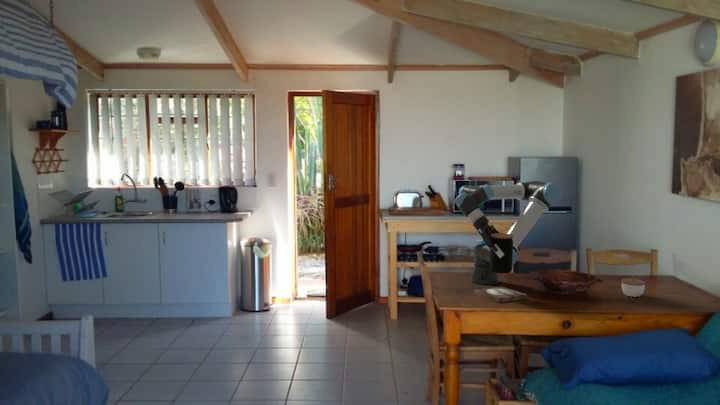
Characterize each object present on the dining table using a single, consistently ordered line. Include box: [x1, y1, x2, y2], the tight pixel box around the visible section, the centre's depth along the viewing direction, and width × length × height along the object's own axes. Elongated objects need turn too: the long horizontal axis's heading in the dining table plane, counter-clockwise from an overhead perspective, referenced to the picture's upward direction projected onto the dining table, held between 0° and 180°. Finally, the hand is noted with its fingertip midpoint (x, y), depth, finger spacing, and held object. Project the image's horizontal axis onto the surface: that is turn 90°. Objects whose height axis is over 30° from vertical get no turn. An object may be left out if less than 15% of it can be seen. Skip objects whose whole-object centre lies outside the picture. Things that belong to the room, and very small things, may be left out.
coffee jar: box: [490, 232, 513, 274], centre depth 287 cm, size 11×11×18 cm
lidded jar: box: [621, 277, 646, 297], centre depth 292 cm, size 11×11×9 cm
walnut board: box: [473, 286, 528, 304], centre depth 288 cm, size 18×18×2 cm
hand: (506, 254), depth 285 cm, fingers closed on coffee jar, 11 cm apart
